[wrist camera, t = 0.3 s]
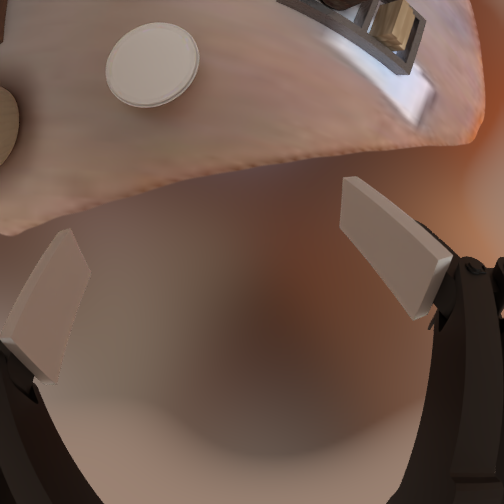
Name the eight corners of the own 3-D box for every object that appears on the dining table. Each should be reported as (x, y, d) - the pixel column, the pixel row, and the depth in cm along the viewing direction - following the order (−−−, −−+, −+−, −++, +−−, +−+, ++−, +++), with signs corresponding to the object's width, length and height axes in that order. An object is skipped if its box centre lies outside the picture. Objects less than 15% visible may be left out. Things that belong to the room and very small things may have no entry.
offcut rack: (276, 1, 25) (284, -7, 22) (306, -51, 19) (315, -59, 17) (396, 74, 34) (409, 75, 31) (413, 22, 28) (426, 20, 25)
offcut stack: (367, 38, 30) (391, 33, 25) (379, 5, 27) (403, -1, 21) (385, 51, 32) (410, 49, 26) (397, 19, 28) (421, 15, 23)
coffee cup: (209, 62, 29) (219, 43, 19) (173, 118, 32) (166, 123, 22) (151, 36, 25) (137, 8, 15) (116, 92, 28) (86, 88, 18)
